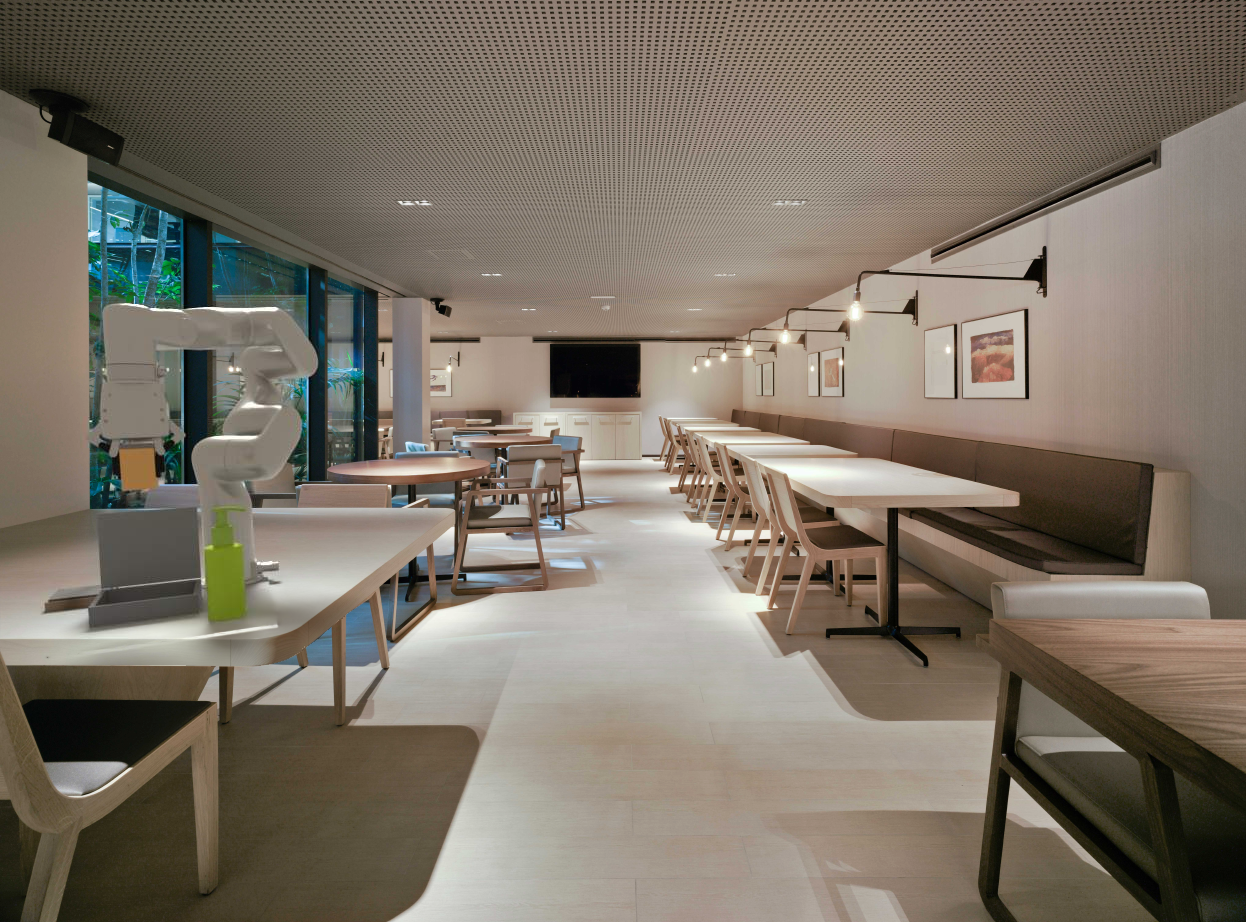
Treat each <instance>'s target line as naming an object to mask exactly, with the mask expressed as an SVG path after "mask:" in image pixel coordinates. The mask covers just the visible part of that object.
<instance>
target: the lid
mask: <svg viewBox="0 0 1246 922" xmlns="http://www.w3.org/2000/svg"><path fill="white" fill-rule="evenodd" d="M96 522H97V538H98V539H97V540H98V541H97V542H98V555H99V558H98V559H99V573H100V585H101V589H105V588H114V587H118V588H124V587H133V586H142V585H151V584H160V583H169V582H178V581H186V580H195V579H202V569H201V568H202V567H201V553H200V536H199V533H200V532H199V518H198V506H189V507H188V506H187V507H174V508H159V509H148V510H147V509H146V510H134V511H133V510H131V511H120V512H119V511H117V512H115V511H114V512H104V513H96Z"/></svg>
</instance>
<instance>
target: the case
mask: <svg viewBox="0 0 1246 922" xmlns="http://www.w3.org/2000/svg"><path fill="white" fill-rule="evenodd" d="M201 579H202V578H194V579H186V580H177V581H168V582H159V583H150V584H141V585H132V586H124V587H118V588H116V589H107V590H101V591H100V592H99V594H98V595H97V596H96V598H95V599H94V600H93V602H92V603H91V605H90V606H89V607H87V612H88V613H87V614H88V615H87V616H88V626H89V628H90V629H91V628H92V629H93V628H99V627H107V626H113V625H122V624H128V623H129V624H130V623H137V622H144V621H145V622H146V621H152V620H153V621H154V620H159V619H167V618H168V619H169V618H174V617H175V618H176V617H182V616H188V615H190V616H191V615H197V614H200V610H201V605H202V599H203V588H202V587H201Z"/></svg>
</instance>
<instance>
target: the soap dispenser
mask: <svg viewBox="0 0 1246 922" xmlns="http://www.w3.org/2000/svg"><path fill="white" fill-rule="evenodd" d="M246 509H247V508H245V507H239V506H226V507H218V508H213V509H211V513H213V512H216V523H217V525H214V526H213V527H211V532H212V545H210V546H207V547H205V548H204V554H205V570H206V586H207V589H206V598H207V601H206V602H207V615H208V621H211V622H224V621H231V620H236V619H239V618H243V617H245V616H246V615H247V603H246V601H247V600H246V597H247V596H246V585H245V580H244V563H243V546H242V544H240V543H234V530H233V525H230V524H228V521H227V511H242V512H243V511H245V510H246Z"/></svg>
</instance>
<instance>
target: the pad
mask: <svg viewBox="0 0 1246 922" xmlns="http://www.w3.org/2000/svg"><path fill="white" fill-rule="evenodd" d="M116 588H119V587H114V588H105V589H101V584H98V585H97V584H95V585H86V586H79V587H69V588H60V589H57V591H56V590H55V592H54V593H53V594H52V595H50V597H49V598H48V599H47V600H46V601H45V602H44V612H46V613H47V612H55V611H63V610H65V611H66V610H72V609H79V608H88V607H89V606H90V605H91V603H92V602H93V600H94V599H95V598H96V596H97V595H98V594H99V592H100V591H101V590H107V589H116Z"/></svg>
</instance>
